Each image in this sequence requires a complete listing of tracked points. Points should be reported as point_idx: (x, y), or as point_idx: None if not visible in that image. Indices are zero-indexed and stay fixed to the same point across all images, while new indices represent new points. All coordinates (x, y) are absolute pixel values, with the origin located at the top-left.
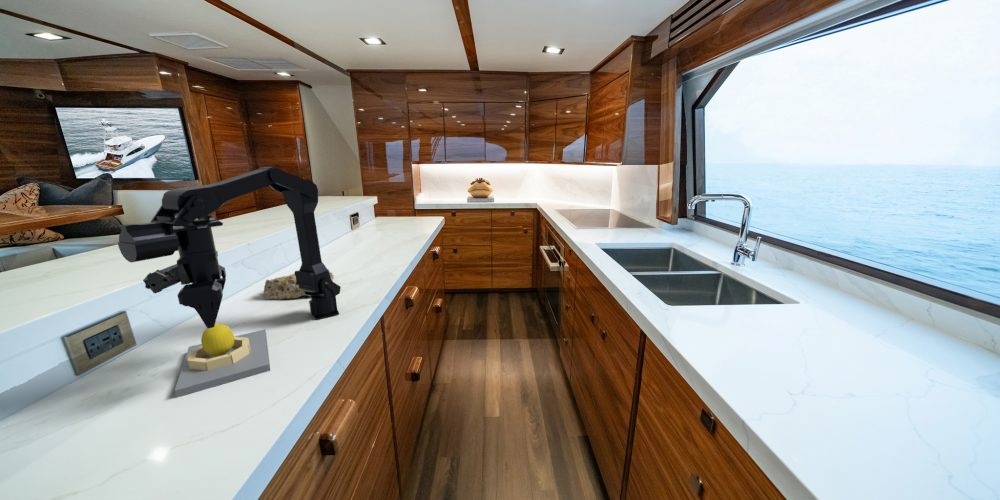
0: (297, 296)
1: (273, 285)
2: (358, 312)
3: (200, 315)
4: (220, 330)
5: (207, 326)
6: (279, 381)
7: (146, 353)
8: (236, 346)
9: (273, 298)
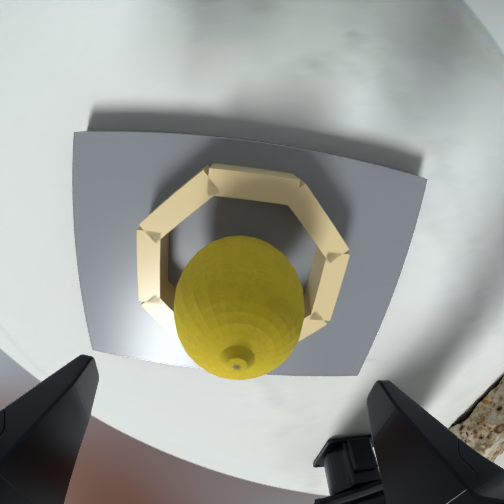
0: (477, 408)
1: None
2: (290, 479)
3: (2, 414)
4: (192, 357)
5: (75, 363)
6: (45, 335)
7: (488, 86)
8: None
9: None
